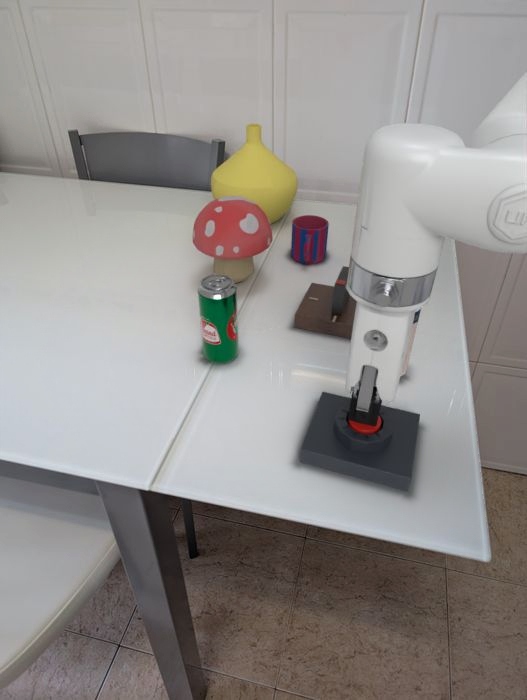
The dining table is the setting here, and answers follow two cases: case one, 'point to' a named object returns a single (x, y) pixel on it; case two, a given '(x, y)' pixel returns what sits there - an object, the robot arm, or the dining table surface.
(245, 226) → the decorative mushroom
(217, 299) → the soda can
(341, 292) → the dark upright slab
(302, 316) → the knob panel
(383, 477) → the button box
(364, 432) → the button
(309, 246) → the cup
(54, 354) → the dining table surface
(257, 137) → the vase
